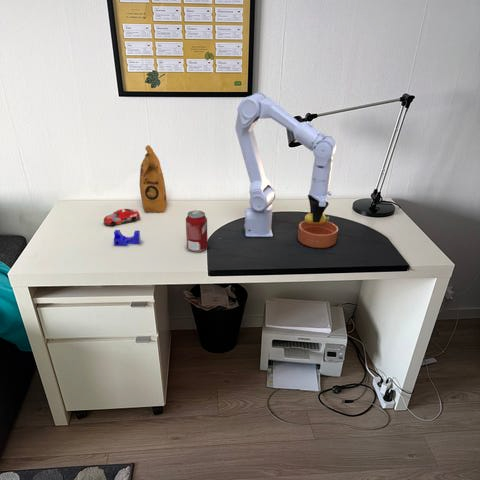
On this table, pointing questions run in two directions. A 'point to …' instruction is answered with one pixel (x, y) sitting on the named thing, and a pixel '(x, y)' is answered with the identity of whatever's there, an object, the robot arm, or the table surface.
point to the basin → (317, 234)
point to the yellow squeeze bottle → (310, 219)
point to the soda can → (196, 231)
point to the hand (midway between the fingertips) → (315, 219)
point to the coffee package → (152, 183)
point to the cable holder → (126, 238)
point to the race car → (122, 217)
